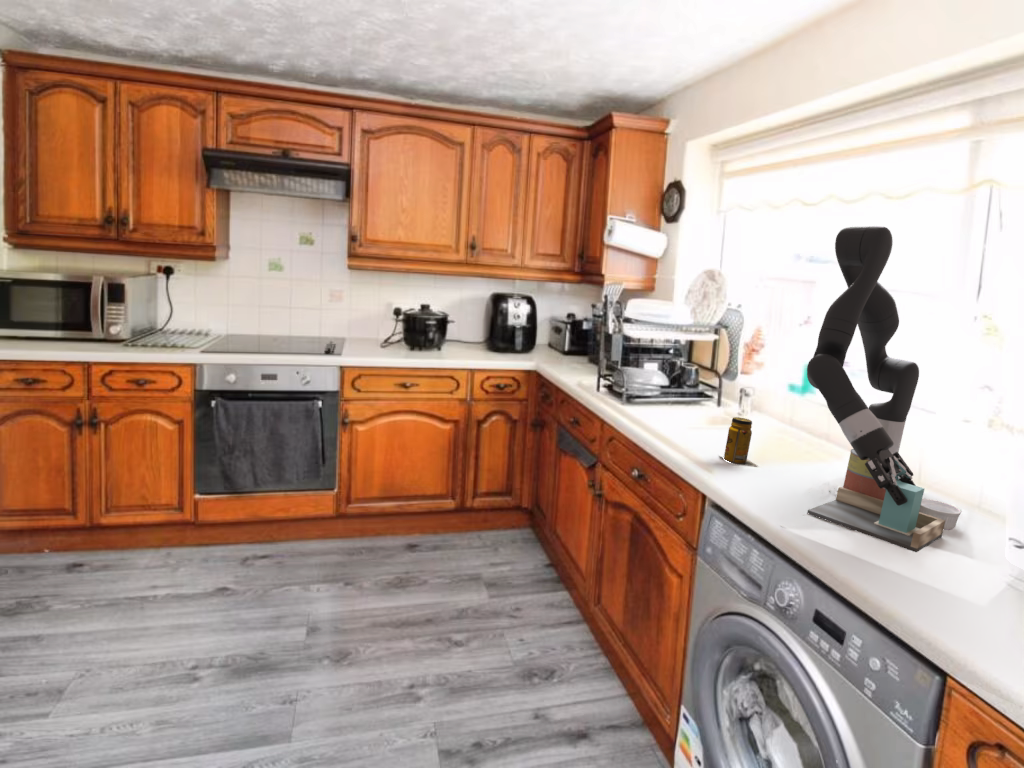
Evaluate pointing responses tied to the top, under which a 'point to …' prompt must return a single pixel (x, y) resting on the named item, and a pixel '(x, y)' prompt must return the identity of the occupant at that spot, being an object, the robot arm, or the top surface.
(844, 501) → the tray
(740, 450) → the condiment
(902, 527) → the block
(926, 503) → the ramekin
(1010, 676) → the top surface
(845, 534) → the top surface
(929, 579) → the top surface
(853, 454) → the canned food
